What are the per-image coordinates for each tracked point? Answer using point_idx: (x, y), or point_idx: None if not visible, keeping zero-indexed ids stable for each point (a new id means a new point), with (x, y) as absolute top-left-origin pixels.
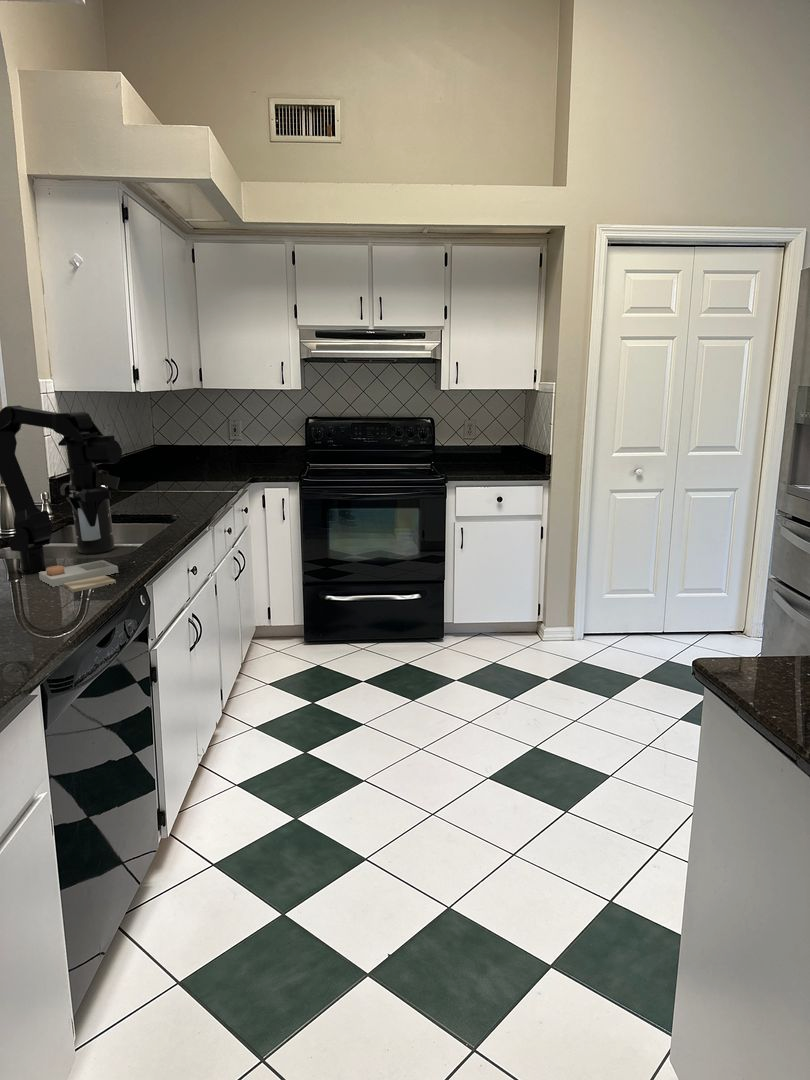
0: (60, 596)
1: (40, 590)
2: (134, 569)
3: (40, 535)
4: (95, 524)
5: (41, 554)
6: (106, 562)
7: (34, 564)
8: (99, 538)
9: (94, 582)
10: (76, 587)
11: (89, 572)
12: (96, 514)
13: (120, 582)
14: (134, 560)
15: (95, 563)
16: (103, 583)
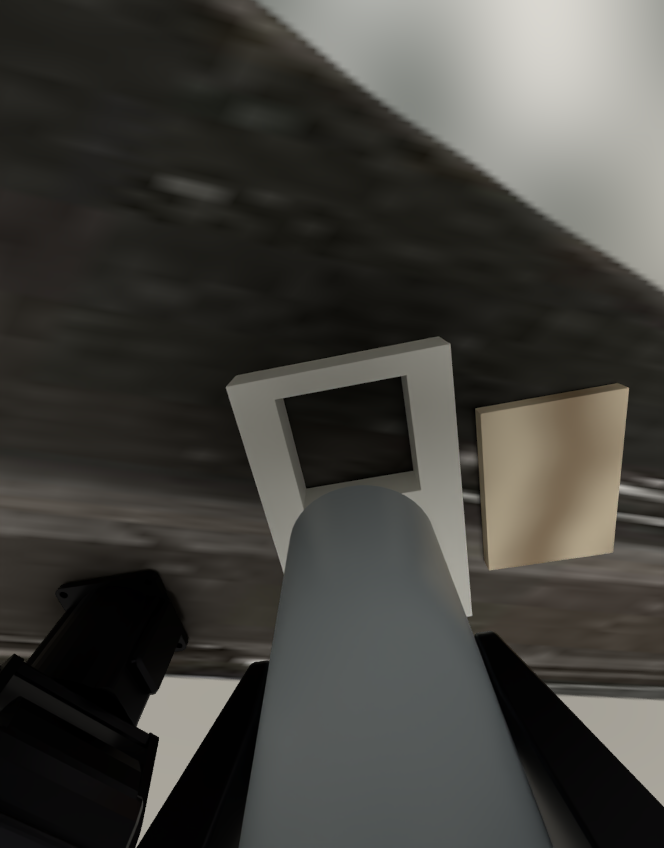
0: (616, 582)
1: (469, 621)
2: (396, 234)
3: (98, 778)
4: (468, 630)
5: (128, 656)
6: (305, 381)
7: (170, 646)
8: (407, 498)
9: (581, 473)
10: (600, 540)
11: (461, 483)
12: (647, 797)
13: (616, 360)
14: (150, 178)
15: (283, 432)
16: (621, 441)
